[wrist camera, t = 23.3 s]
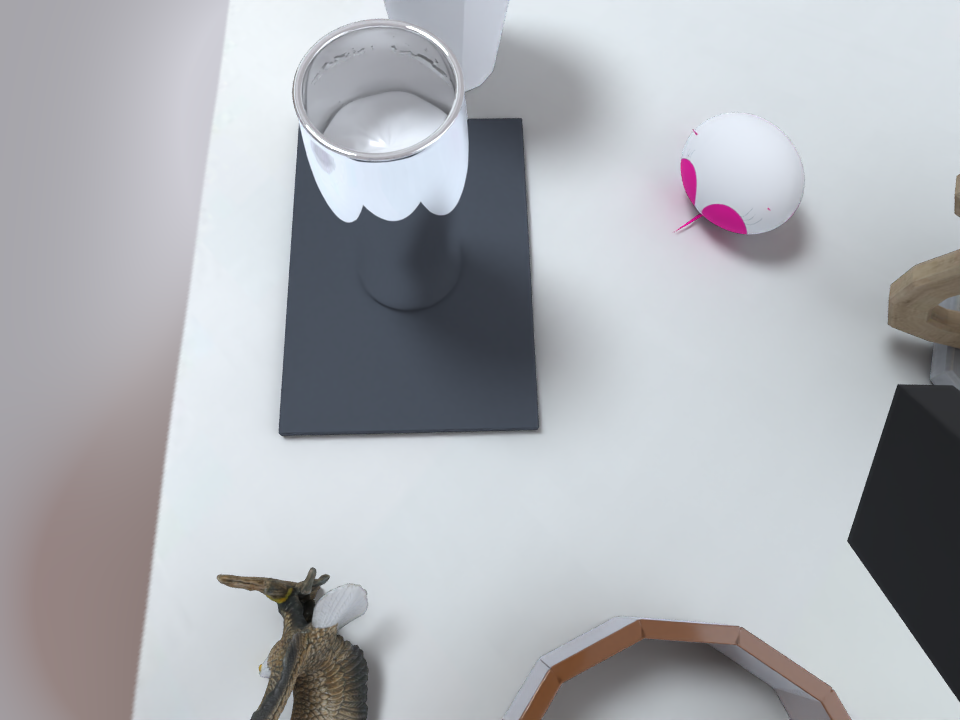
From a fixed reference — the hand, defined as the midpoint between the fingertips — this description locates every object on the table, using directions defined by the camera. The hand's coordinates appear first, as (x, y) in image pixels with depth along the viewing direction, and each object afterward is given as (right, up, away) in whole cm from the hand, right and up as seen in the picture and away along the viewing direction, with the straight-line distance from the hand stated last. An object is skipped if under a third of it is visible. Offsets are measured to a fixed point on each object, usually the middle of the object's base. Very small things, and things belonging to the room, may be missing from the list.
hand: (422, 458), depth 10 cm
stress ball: (+15, +11, +33) cm, 38 cm away
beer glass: (-3, +7, +31) cm, 32 cm away
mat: (-3, +7, +31) cm, 32 cm away
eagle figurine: (-8, -14, +25) cm, 29 cm away
